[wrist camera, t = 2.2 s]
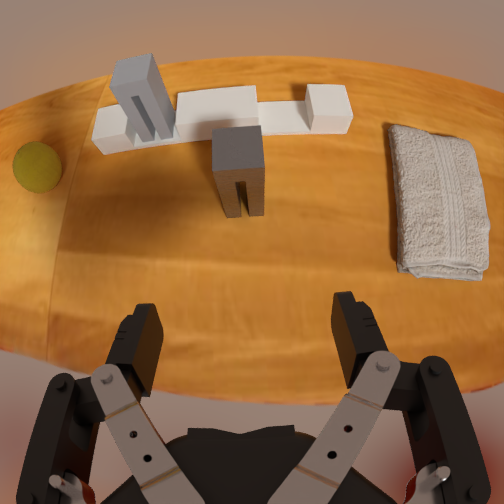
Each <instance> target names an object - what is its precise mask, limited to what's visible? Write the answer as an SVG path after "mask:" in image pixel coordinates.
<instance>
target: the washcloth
mask: <svg viewBox="0 0 504 504" xmlns="http://www.w3.org/2000/svg"><path fill="white" fill-rule="evenodd" d="M387 131H388V136H389V141H390V143H389V144H390V145H389V147H391V153H390V154H391V157H392V164H393V168H392V169H393V180H394V190H395V196H396V198H395V200H396V204H397V208H396V209H397V219H398V228H397V229H398V230H397V232H398V245H397V246H398V248H397V250H398V253H397V269H398V273H400V272H401V273H409V274H413V275H414V276H415V277H416V278H417V279H418V277H419V278H420V277H426V278H444V279H456V280H466V281H481V280H482V273H483V270H486V269H487V268H488V265H489V251H488V239H489V237H488V236H489V235H488V234H489V230H490V221H489V218H488V215H487V209H486V204H485V197H484V190H483V185H482V180H481V176H480V173H479V169H478V164H477V159H476V155H475V151H474V149H473V147H472V145H471V143H470V142H469V141H467V140H464V139H460V138H456V137H450V136H445V137H443V136H440V135H434V134H429V133H428V132H427V131H423V130H420V129H416V128H410V127H406V126H401V125H392V126H390V128H389V129H388V130H387Z"/></svg>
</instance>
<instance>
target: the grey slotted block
mask: <svg viewBox="0 0 504 504" xmlns="http://www.w3.org/2000/svg"><path fill="white" fill-rule="evenodd" d="M212 172H213V176H214V179H215V182H216V185H217V188H218V191H219V194H220V198H221V201H222V204H223V207H224V210H225V213H226V216H227V218H235V217H241V200H240V181H246V189H247V198H248V207H249V216H264V183H265V165H264V153H263V142H262V131H261V125H257V126H242V127H229V128H217V129H212Z"/></svg>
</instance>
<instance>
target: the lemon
mask: <svg viewBox="0 0 504 504" xmlns="http://www.w3.org/2000/svg"><path fill="white" fill-rule="evenodd" d="M13 172H14V175H15V177H16V179H17V181H18V182H19V183H20V184H21V185H22V186H23V187H24V188H25V189H27V190H28V191H30V192H34V193H45V192H48V191H50V190H51V189H53V188H54V187H55V186H56V185H57V183H58V182H59V180H60V178H61V174H62V163H61V160H60V158H59V156H58V154H57V153H56V152H55V151H54V150H53V149H52V148H51V147H50V146H48V145H46V144H44V143H41V142H29V143H27V144H25V145H23V146H22V147H21V148H20V149H19V150H18V151H17V153H16V155H15V157H14V161H13Z"/></svg>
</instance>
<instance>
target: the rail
mask: <svg viewBox="0 0 504 504" xmlns="http://www.w3.org/2000/svg"><path fill="white" fill-rule="evenodd" d="M109 87H110V89H111V91H112V92H113V94H114V96H115V97H116V99H117V101H118V102H119V104H117V105H112V106H108V107H104V108H100V109H98V112H97V117H96V121H95V125H94V130H93V134H92V139H91V140H92V141H93V143H94V144H95V145H96V146H97V147H98V149H99V150H100V151H101V152H102V153H103V154H104V155H106V154H112V153H117V152H123V151H129V150H135V149H141V148H147V147H154V146H161V145H168V144H176V143H184V142H193V141H202V140H212V129H217V128H229V127H242V126H257V125H261V131H262V136H266V135H290V134H346V133H347V131H348V128H349V126H350V123H351V121H352V118H353V113H352V110H351V106H350V102H349V99H348V96H347V92H346V89H345V86H344V85H327V84H307V90H306V95H305V101H274V102H257V95H256V85H255V86H239V87H227V88H216V89H207V90H198V91H190V92H183V93H178V100H177V110H174V109H173V107H172V104H171V101H170V99H169V96H168V94H167V91H166V88H165V86H164V83H163V81H162V78H161V75H160V73H159V70H158V68H157V65H156V62H155V60H154V57H153V54H152V53H151V54H145V55H141V56H136V57H132V58H127V59H124V60H119V61H117V62H116V65H115V69H114V72H113V76H112V79H111V83H110V86H109Z"/></svg>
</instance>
